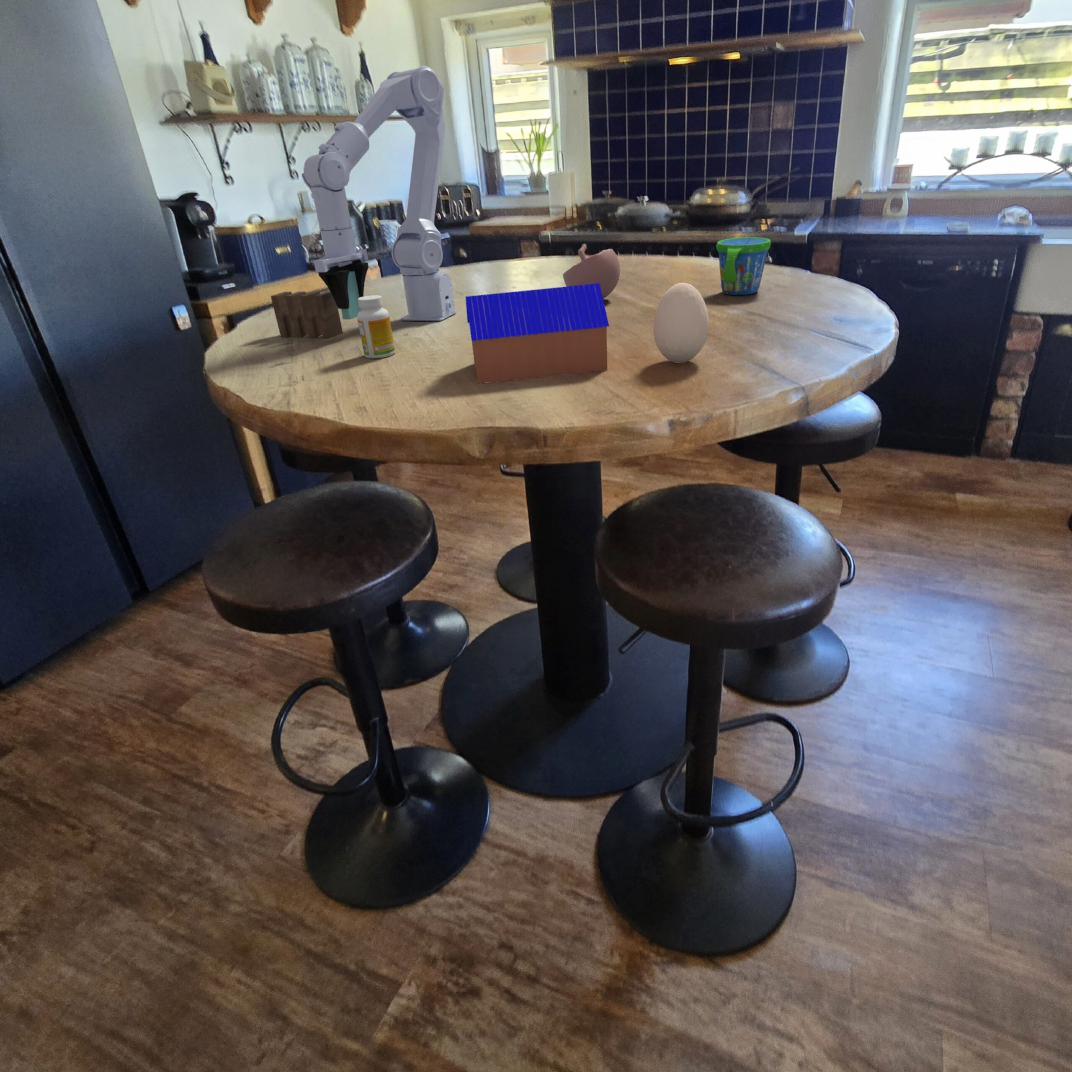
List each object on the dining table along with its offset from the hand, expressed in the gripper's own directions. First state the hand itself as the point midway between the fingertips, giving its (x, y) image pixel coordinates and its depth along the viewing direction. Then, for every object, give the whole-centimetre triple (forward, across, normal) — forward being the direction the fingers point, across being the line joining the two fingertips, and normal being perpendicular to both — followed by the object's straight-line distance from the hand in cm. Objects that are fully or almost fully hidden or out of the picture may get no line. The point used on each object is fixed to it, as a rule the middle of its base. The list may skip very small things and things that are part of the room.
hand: (350, 305), depth 132 cm
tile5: (+6, 0, +16) cm, 17 cm away
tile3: (+6, 0, +9) cm, 11 cm away
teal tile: (+2, 0, 0) cm, 2 cm away
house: (+6, -17, -44) cm, 48 cm away
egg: (+6, -13, -65) cm, 67 cm away
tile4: (+6, 0, +12) cm, 14 cm away
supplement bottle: (+6, -13, -13) cm, 19 cm away
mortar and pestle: (+6, +32, -39) cm, 51 cm away
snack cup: (+6, +40, -69) cm, 80 cm away
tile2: (+6, 0, +6) cm, 8 cm away
